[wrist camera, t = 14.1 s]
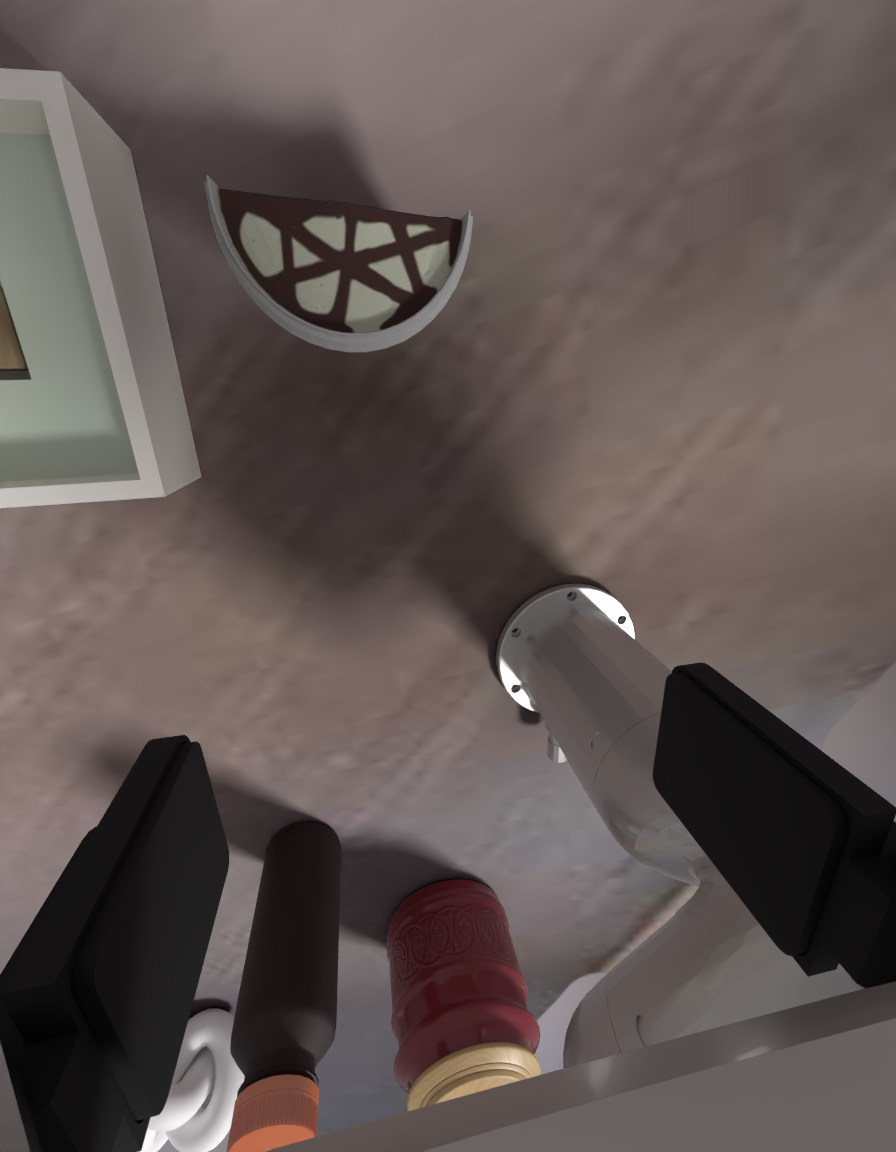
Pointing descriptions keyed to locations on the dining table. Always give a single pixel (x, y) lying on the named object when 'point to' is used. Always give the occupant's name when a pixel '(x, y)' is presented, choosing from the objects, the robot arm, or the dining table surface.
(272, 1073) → the bottle
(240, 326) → the dining table surface
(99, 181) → the open box
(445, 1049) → the canister
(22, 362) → the maple peg
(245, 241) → the food container
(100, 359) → the bore plate
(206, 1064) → the white knot sculpture
